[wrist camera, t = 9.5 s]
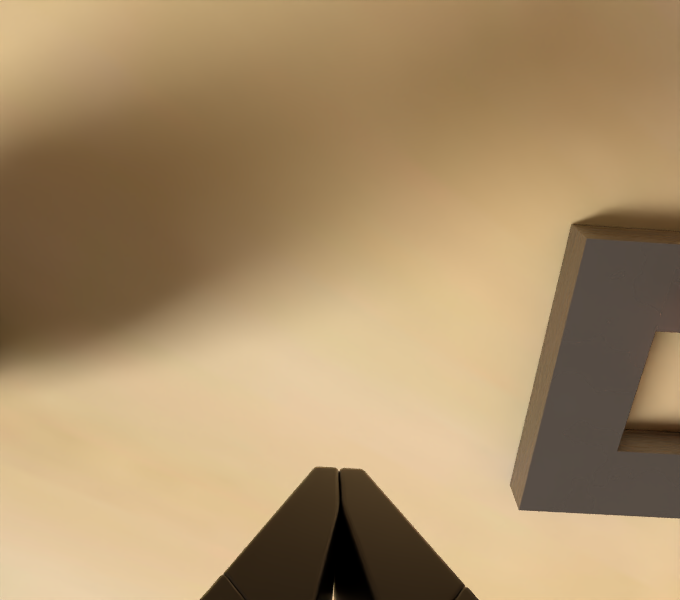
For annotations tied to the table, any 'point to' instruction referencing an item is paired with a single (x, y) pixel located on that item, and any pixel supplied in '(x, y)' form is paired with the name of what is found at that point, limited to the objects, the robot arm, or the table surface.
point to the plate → (602, 380)
